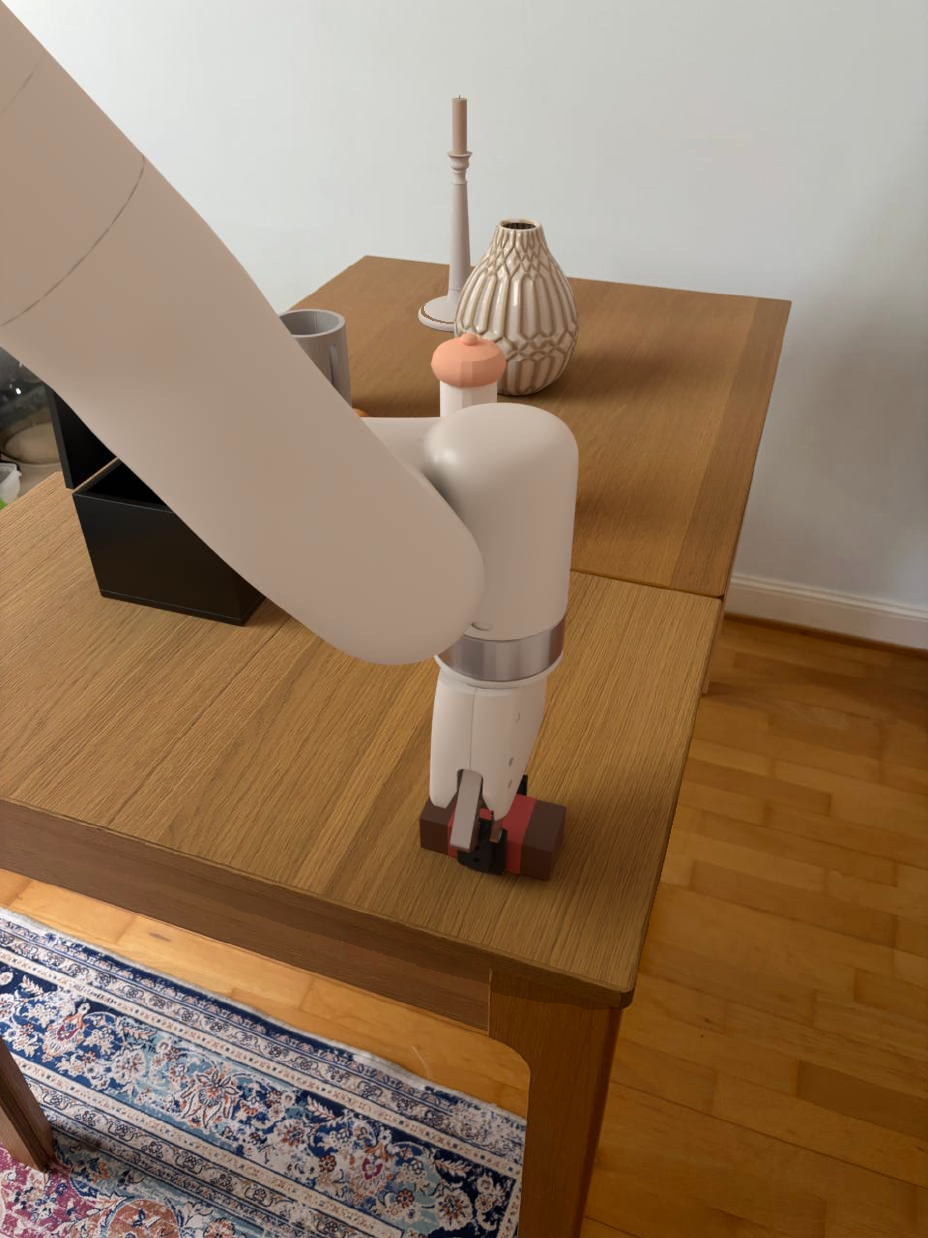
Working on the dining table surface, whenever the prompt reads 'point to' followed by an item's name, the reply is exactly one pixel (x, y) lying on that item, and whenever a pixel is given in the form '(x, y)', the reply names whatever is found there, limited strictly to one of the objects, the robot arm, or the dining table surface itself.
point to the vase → (521, 307)
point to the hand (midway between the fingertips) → (492, 837)
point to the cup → (323, 344)
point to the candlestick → (455, 226)
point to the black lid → (75, 443)
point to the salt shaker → (467, 372)
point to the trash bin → (155, 552)
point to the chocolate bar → (528, 833)
